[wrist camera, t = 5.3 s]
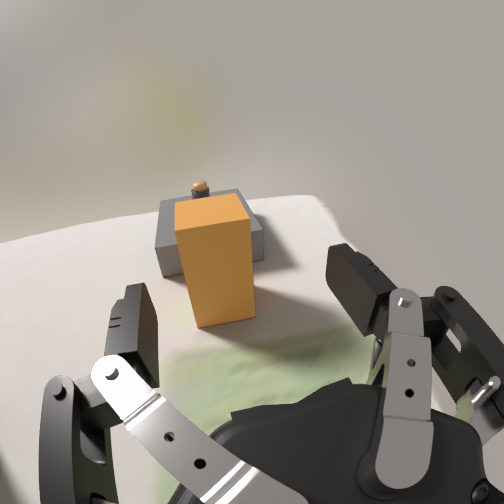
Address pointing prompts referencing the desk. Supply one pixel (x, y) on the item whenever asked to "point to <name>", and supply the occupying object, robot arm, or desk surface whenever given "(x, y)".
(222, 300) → the tall orange cuboid
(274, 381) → the desk surface
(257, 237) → the flat gray square block
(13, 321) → the desk surface
